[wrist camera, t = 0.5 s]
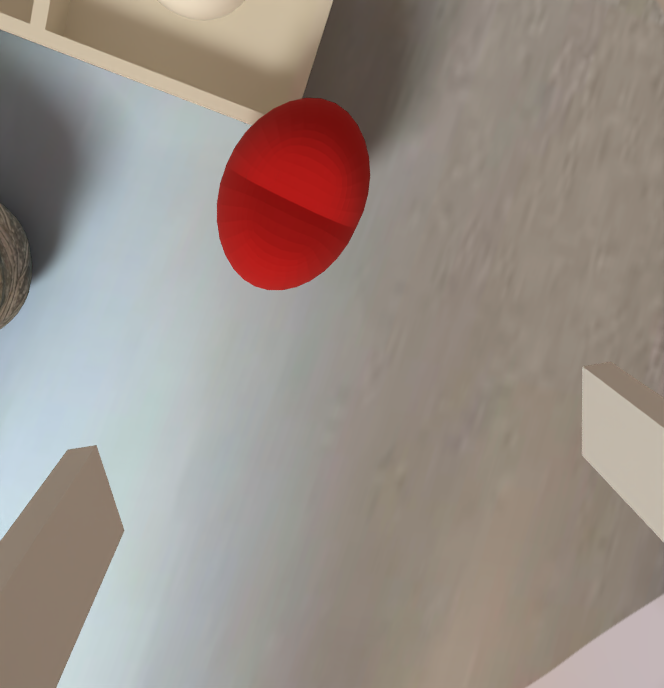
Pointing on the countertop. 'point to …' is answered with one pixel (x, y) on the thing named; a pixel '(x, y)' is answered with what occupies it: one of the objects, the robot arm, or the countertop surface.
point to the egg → (202, 8)
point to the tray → (186, 47)
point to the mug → (13, 266)
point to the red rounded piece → (293, 193)
